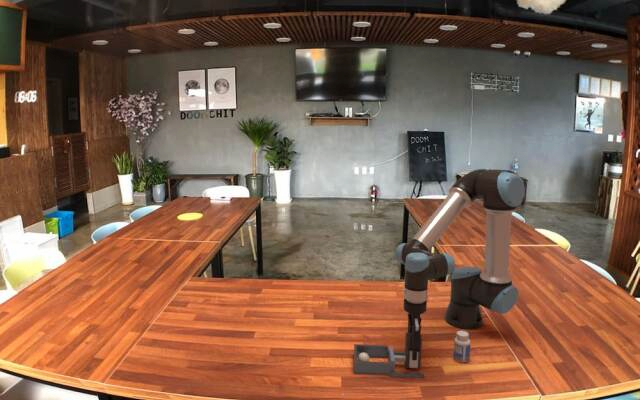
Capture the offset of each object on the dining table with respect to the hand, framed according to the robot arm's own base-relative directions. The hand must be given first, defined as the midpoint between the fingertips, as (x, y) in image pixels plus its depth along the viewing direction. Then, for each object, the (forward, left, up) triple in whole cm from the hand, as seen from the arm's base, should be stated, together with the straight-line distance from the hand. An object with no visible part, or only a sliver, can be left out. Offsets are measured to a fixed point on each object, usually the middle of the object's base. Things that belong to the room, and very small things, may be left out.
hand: (412, 362), depth 152 cm
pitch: (+9, 0, -1) cm, 9 cm away
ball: (+17, 0, +1) cm, 17 cm away
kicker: (+3, 0, -1) cm, 3 cm away
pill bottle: (-18, -6, -1) cm, 19 cm away
